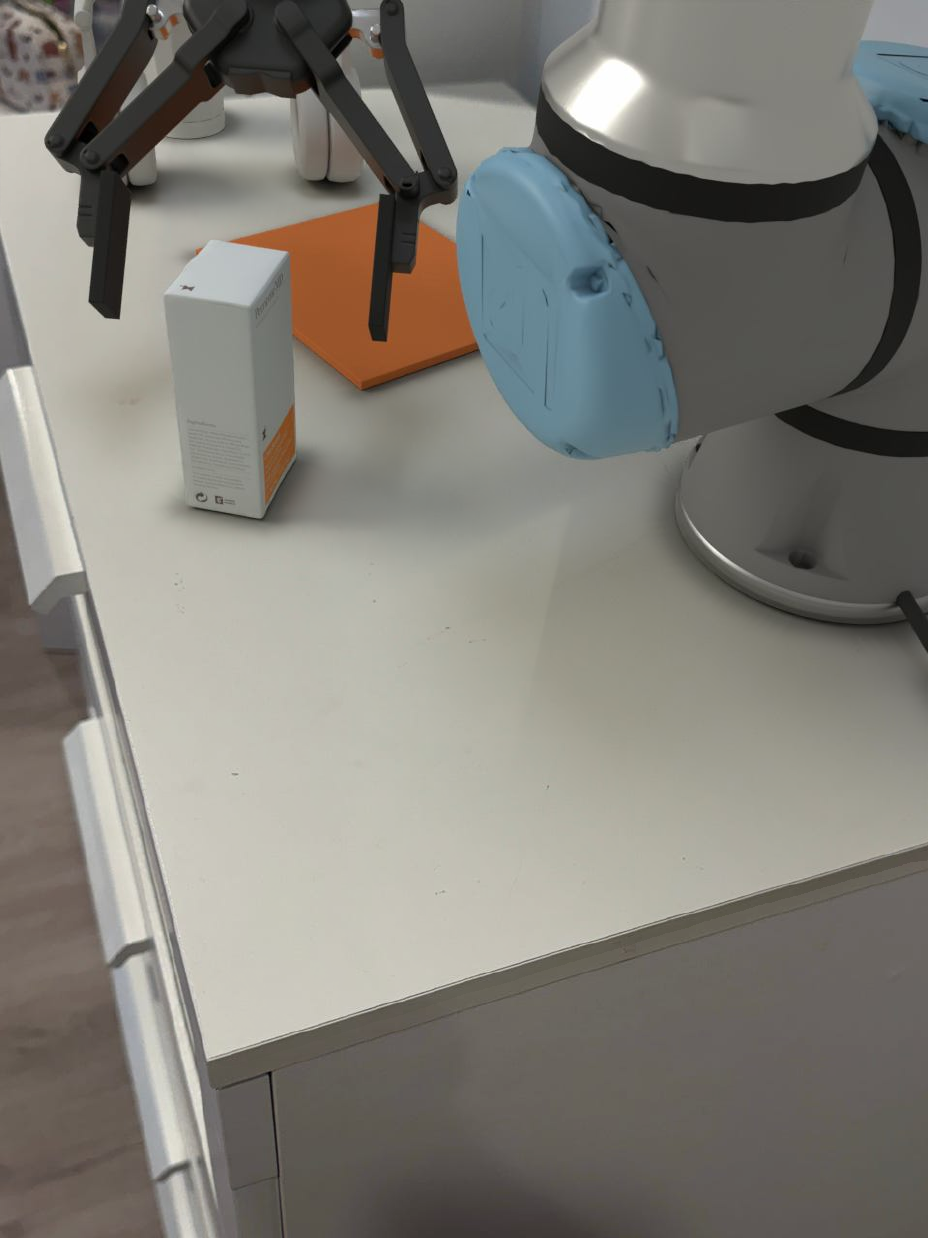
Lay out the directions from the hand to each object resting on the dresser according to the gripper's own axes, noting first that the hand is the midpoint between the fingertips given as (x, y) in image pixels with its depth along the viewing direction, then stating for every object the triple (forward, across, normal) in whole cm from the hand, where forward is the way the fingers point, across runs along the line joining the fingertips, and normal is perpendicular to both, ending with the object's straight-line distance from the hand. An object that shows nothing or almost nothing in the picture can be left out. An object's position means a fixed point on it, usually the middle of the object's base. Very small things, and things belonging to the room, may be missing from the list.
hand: (240, 323), depth 58 cm
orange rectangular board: (-9, -4, -20) cm, 23 cm away
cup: (-27, +14, -39) cm, 49 cm away
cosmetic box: (+7, 0, -4) cm, 9 cm away
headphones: (-19, +8, -31) cm, 38 cm away
